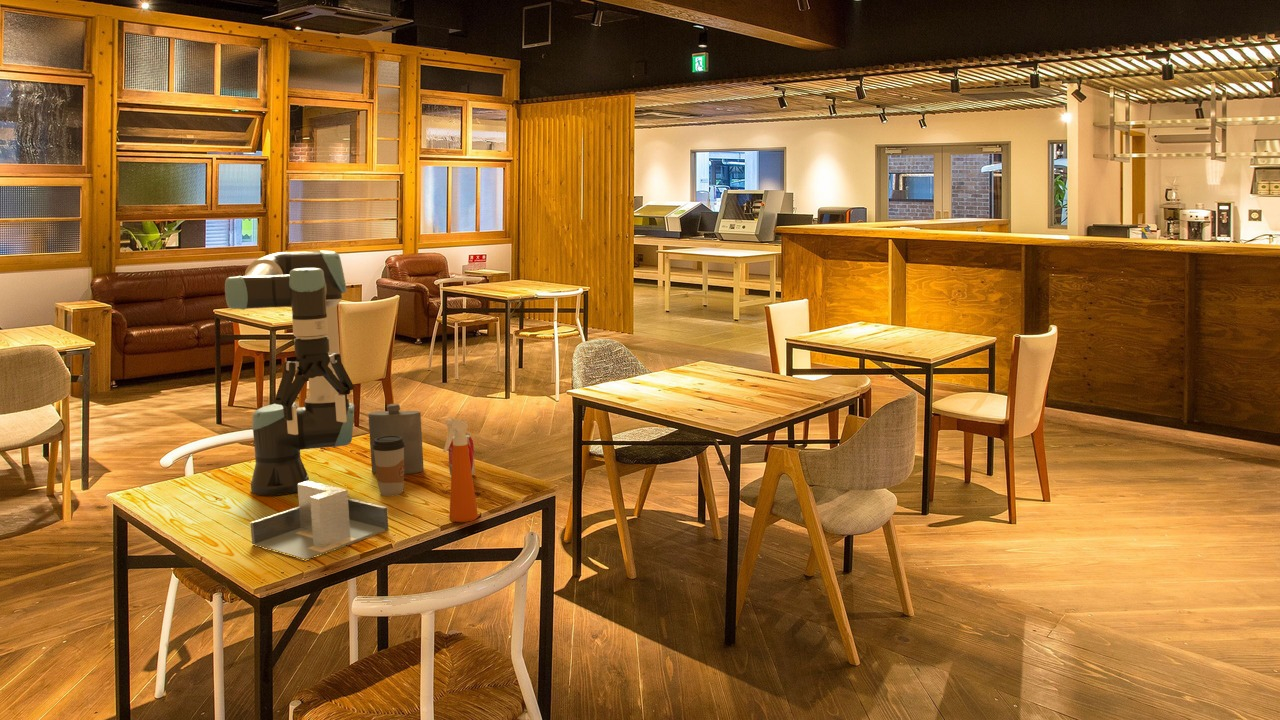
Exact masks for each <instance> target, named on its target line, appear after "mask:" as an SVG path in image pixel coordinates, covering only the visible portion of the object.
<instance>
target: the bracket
mask: <svg viewBox="0 0 1280 720" xmlns="http://www.w3.org/2000/svg"><path fill="white" fill-rule="evenodd" d="M297 485H298V492H297V495H298V497H297V498H298V507H299V511H300V524H301V533H305V534H308V535H312V536H313V543H314V548H317V549H320V550H324V549H327V548H329V547H332V546H335V545H337V544H340V543H343V542H345V541H348V540H351V536H350V522H349V507H348V498H349V497H348V495H349V493H348V489H347V488H342V487H338V486H334V485H329V484H324V483H319V482H315V481H310V480H309V481H305V482H302V483H298V484H297Z"/></svg>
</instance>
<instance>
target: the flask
mask: <svg viewBox="0 0 1280 720" xmlns="http://www.w3.org/2000/svg"><path fill="white" fill-rule="evenodd" d="M386 408H387V410H386V411H385V410H376V411H371V412H369V413H368V415H367V416H368V417H367V418H368V431H369V432H368V433H369V443H370V445H369V447H370V461H371V462H370V463H371V472H372V473H373V474H375V473H376V466H375V456H374V449H373V443H374V440H375V439H376V438H378V437H382V436H391V435H395V436H401V437H402V439H403V441H404V445H405V447H404V475H410V474H411V475H412V474H420V473H422V472H423V471H424V470H425V468H424V467H425V466H424V453H423V451H424V450H423V449H424V448H423V435H422V434H423V430H422V416H421V415H422V414H421V411H419V410H403V411H402V410H401V406H400V405H399V403H390V404H387V406H386ZM419 472H420V473H419ZM376 475H377V473H376Z"/></svg>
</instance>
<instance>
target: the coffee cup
mask: <svg viewBox="0 0 1280 720" xmlns="http://www.w3.org/2000/svg"><path fill="white" fill-rule="evenodd" d="M404 447H405V445H404V441H403V439H402V437H401V436H395V435H391V436H382V437H378V438H376V439H375V440H374V443H373V449H374V456H375V466H376V473H377V474H376V479H377V484H378V492H379V493H380V495H382V496H384V497H393V496H398V495H401V494H403V491H404V485H405V483H404V482H405V474H404Z"/></svg>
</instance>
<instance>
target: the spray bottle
mask: <svg viewBox="0 0 1280 720" xmlns="http://www.w3.org/2000/svg"><path fill="white" fill-rule="evenodd" d="M444 424H445V425H446V427H447V436H446V441H445V444H444V447H443V450H442V452H443V453H446V452H447V451H448V448H449V446H450V444H451V442H452V439H453V451H452V472H451V475H450V477H451V479H450V495H449V496H450V497H449V500H450V501H449V517H448V518H449V520H450V521H452V520H453V521H452V522H454V521H456V522H455V523H469V522H472V521H474V520H477V518H478V517H479V513H478V507H477V500H476V494H475V493H476V492H475V486H474V479H473V475H472V471H471V464H470V457H469V450H468V444H467V436H466V434H467V433H466V432H467V429H468V428H469V426H470V425H469V424H468V423H467V422H466V421H464V420H462V419H459V418H455V417H454V418H452V417H451V418H450V417H448V418H446V419H445V421H444Z"/></svg>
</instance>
